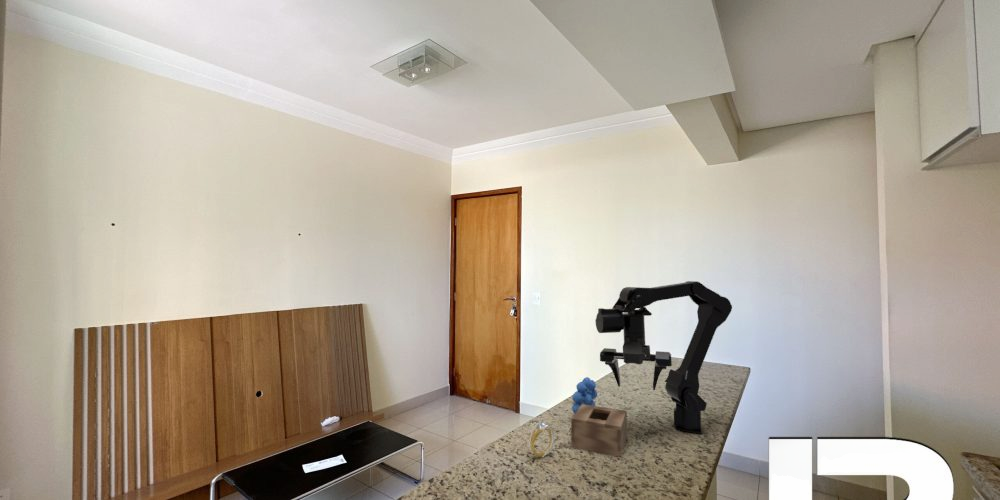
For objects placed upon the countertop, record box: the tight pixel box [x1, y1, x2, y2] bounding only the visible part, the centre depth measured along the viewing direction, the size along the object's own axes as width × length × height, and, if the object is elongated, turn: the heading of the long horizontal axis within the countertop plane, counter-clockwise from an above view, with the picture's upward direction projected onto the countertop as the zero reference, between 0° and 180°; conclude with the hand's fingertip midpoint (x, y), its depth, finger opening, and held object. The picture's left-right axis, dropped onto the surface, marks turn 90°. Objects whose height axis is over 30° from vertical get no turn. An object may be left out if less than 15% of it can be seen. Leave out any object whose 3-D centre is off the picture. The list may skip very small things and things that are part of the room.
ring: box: [528, 420, 556, 458], centre depth 92 cm, size 7×3×8 cm, turn 118°
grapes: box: [571, 376, 598, 415], centre depth 117 cm, size 12×7×12 cm, turn 134°
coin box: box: [570, 404, 628, 458], centre depth 100 cm, size 12×12×7 cm
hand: (636, 387), depth 108 cm, fingers open, 9 cm apart
